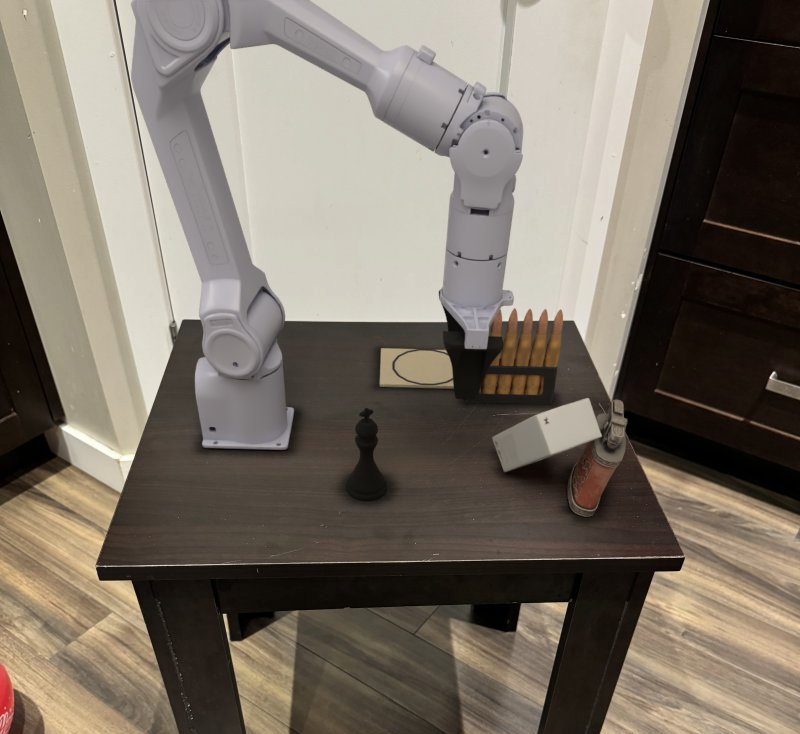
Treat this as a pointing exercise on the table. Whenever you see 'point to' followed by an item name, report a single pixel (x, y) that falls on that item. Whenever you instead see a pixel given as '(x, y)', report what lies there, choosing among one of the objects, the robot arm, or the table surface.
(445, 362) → the drawing pad
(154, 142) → the robot arm
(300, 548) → the table surface
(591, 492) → the lighter
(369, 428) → the chess piece
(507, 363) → the ammunition clip
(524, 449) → the cosmetic box
